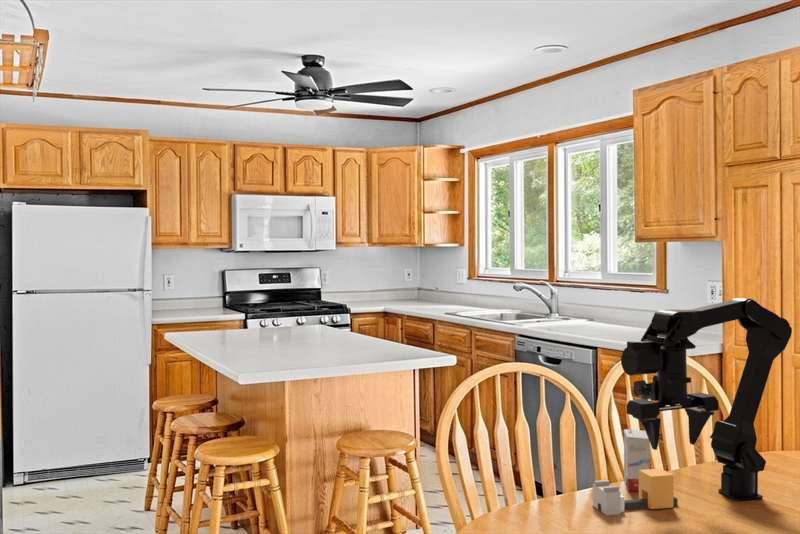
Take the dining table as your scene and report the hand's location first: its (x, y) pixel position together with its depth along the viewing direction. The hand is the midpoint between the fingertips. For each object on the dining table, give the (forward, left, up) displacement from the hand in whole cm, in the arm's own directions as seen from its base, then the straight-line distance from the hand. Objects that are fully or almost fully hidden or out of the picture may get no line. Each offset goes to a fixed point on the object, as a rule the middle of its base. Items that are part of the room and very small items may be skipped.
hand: (673, 446), depth 158 cm
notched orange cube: (+4, 0, -12) cm, 13 cm away
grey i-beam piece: (+15, 0, -12) cm, 19 cm away
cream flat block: (+13, 0, -12) cm, 17 cm away
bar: (+8, 0, -12) cm, 14 cm away
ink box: (+1, -13, -12) cm, 18 cm away
